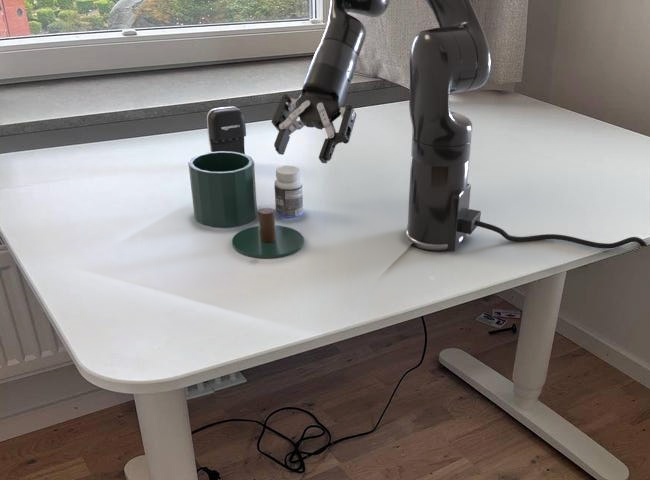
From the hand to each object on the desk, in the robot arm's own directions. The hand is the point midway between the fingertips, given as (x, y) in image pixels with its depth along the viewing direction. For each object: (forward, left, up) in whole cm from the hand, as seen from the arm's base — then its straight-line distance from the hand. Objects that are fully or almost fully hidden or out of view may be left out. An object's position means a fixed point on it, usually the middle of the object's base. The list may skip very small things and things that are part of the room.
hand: (300, 156), depth 134 cm
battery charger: (+22, -10, -9) cm, 26 cm away
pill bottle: (0, +5, -9) cm, 10 cm away
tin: (+9, +11, -9) cm, 17 cm away
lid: (-3, +17, -9) cm, 19 cm away
